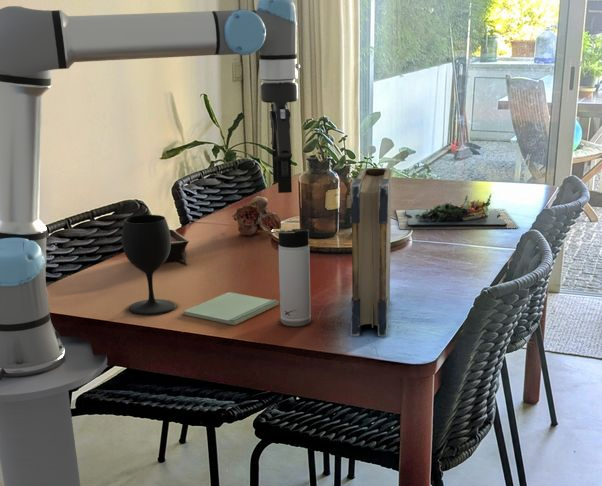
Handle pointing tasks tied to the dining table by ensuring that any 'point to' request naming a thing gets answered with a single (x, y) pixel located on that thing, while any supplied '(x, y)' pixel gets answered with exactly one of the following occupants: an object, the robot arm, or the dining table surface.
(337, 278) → the dining table surface
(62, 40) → the robot arm
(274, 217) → the seed pod
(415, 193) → the dining table surface
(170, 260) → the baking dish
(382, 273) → the decorative book
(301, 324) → the travel mug
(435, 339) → the dining table surface
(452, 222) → the plated dish
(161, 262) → the wine glass
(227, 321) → the pale green notebook
